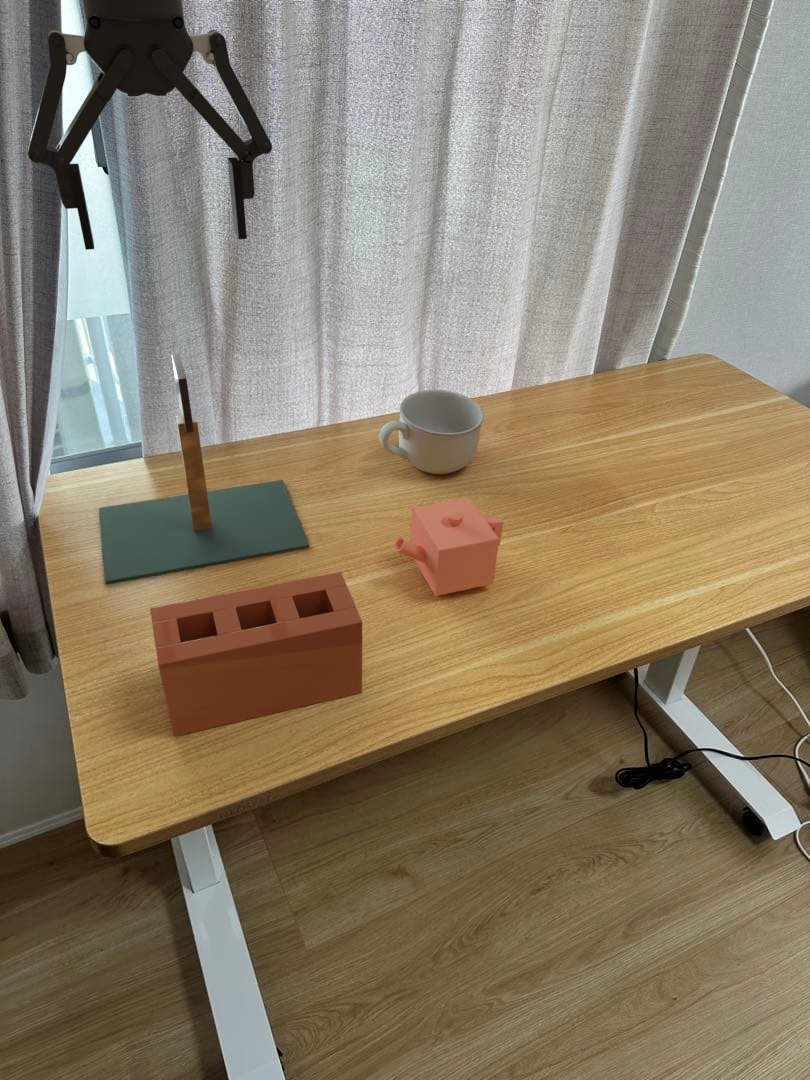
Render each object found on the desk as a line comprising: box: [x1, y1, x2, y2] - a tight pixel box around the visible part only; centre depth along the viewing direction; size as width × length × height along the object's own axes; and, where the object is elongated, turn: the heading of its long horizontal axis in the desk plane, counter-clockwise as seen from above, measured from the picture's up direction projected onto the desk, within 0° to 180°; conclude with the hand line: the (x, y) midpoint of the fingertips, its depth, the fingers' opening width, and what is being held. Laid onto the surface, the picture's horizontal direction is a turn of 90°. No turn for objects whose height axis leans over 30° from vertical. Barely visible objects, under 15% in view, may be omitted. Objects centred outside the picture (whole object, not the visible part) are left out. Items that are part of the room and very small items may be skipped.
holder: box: [149, 571, 363, 737], centre depth 72 cm, size 7×17×9 cm, turn 109°
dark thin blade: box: [171, 353, 212, 532], centre depth 87 cm, size 2×6×20 cm, turn 19°
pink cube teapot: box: [393, 497, 505, 597], centre depth 86 cm, size 8×12×8 cm, turn 110°
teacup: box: [378, 389, 485, 475], centre depth 104 cm, size 14×11×8 cm
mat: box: [98, 479, 310, 585], centre depth 93 cm, size 22×14×1 cm, turn 109°
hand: (167, 240), depth 75 cm, fingers open, 13 cm apart
